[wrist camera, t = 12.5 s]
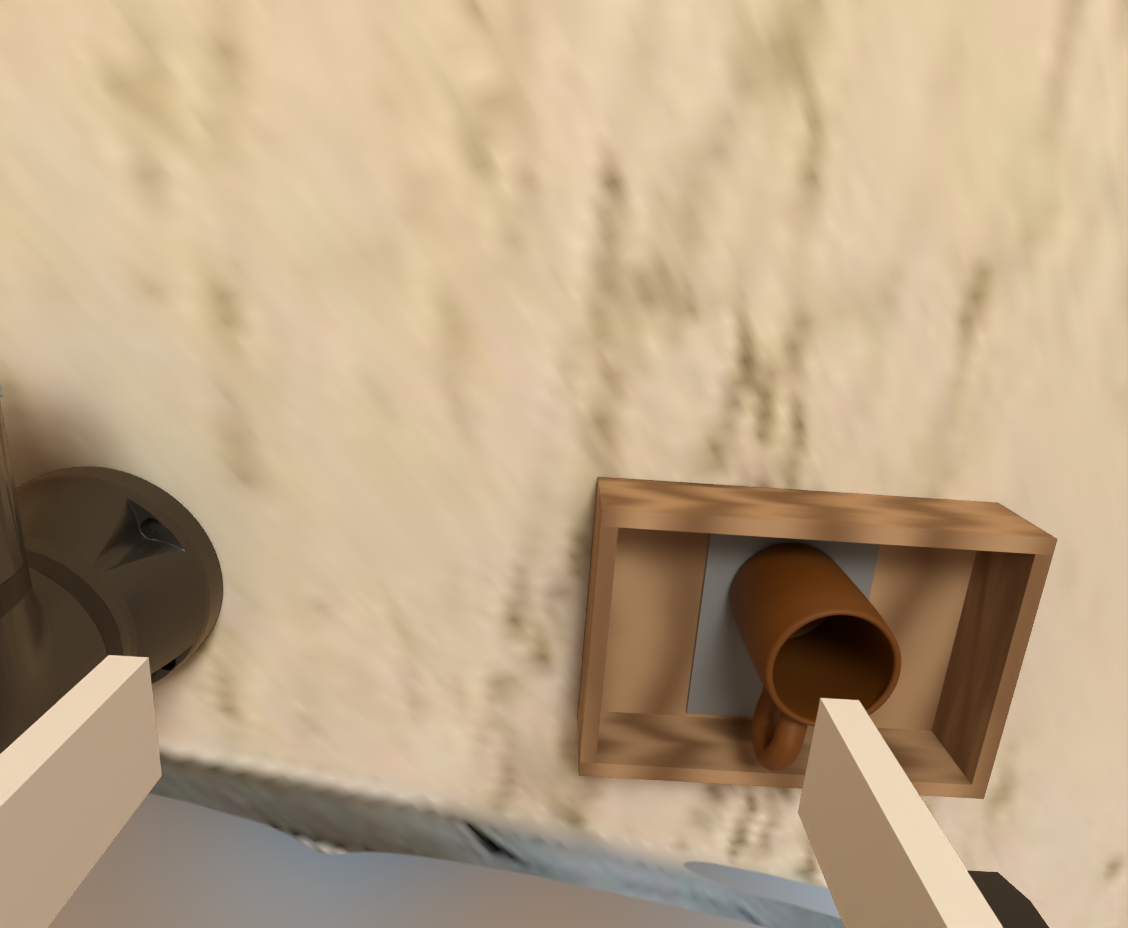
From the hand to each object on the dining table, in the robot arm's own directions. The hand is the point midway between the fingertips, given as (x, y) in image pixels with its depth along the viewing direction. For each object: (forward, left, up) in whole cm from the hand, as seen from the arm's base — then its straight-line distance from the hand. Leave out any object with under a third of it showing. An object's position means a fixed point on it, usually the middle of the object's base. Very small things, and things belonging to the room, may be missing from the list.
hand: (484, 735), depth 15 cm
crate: (+17, -14, -33) cm, 39 cm away
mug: (+16, -14, -32) cm, 39 cm away
